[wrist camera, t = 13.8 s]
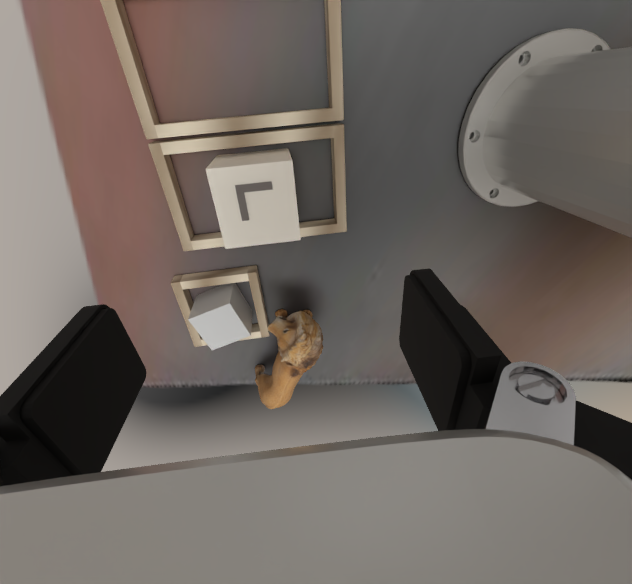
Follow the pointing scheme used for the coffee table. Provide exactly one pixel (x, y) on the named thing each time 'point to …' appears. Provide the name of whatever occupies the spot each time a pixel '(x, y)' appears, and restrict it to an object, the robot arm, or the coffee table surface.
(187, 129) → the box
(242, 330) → the grey block
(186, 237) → the middle box
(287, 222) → the letter cube
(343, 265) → the coffee table surface
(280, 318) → the lion figurine
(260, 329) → the small box
